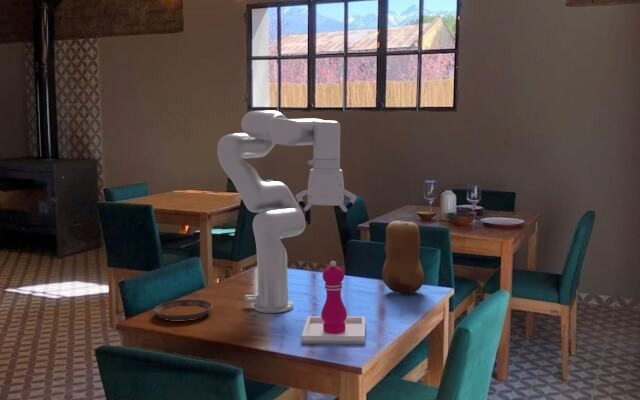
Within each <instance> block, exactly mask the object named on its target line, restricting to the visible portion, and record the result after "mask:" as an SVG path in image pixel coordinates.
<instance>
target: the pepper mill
mask: <svg viewBox="0 0 640 400" xmlns="http://www.w3.org/2000/svg"><path fill="white" fill-rule="evenodd" d="M322 272H323V273H322V280H323V281H324V282H325V283H324V289H325V291H326V299H325V302H324V304H323V307H322V310H321V312H320V313H321V315H320V316H321V318H322V320H323V321H324V322H325V323H324V324H323V330H324V332H326V333H330V334H338V333H342V332H344V331H345V323H344V321H345V320H346V318H347V317H348V313H347V309H346V307H345V304H344V302H343V299H342V289H343V281H344V278H345V273H344V270H343V268H341V267H340V266H337V262H336V261H335V260H332V261H330V262H329V266H327V267H326V268H325V269H324V270H323V271H322Z"/></svg>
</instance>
